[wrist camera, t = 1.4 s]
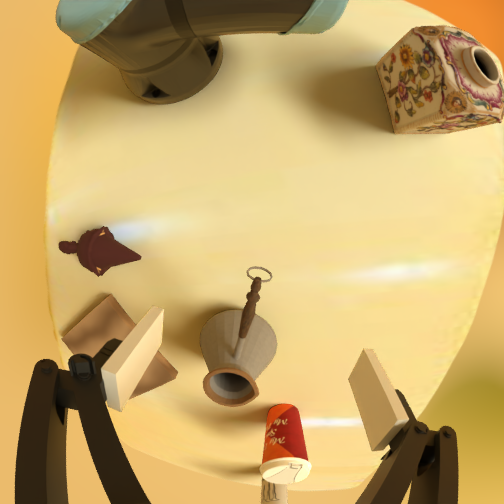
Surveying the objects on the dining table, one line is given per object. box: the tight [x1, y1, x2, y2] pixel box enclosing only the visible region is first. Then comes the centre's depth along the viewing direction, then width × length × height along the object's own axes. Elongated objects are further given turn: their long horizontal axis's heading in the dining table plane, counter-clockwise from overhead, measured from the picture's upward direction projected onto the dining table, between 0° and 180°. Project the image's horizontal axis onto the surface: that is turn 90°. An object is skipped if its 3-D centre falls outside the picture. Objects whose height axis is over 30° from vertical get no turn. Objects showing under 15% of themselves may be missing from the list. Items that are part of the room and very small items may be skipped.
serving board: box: [62, 294, 178, 399], centre depth 43 cm, size 18×18×2 cm
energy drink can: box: [261, 477, 287, 504], centre depth 44 cm, size 6×6×15 cm
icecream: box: [59, 226, 141, 277], centre depth 36 cm, size 7×7×15 cm
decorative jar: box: [376, 26, 504, 134], centre depth 22 cm, size 12×12×18 cm
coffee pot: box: [200, 267, 277, 407], centre depth 33 cm, size 21×12×15 cm, turn 167°
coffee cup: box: [259, 404, 311, 484], centre depth 38 cm, size 8×8×15 cm
